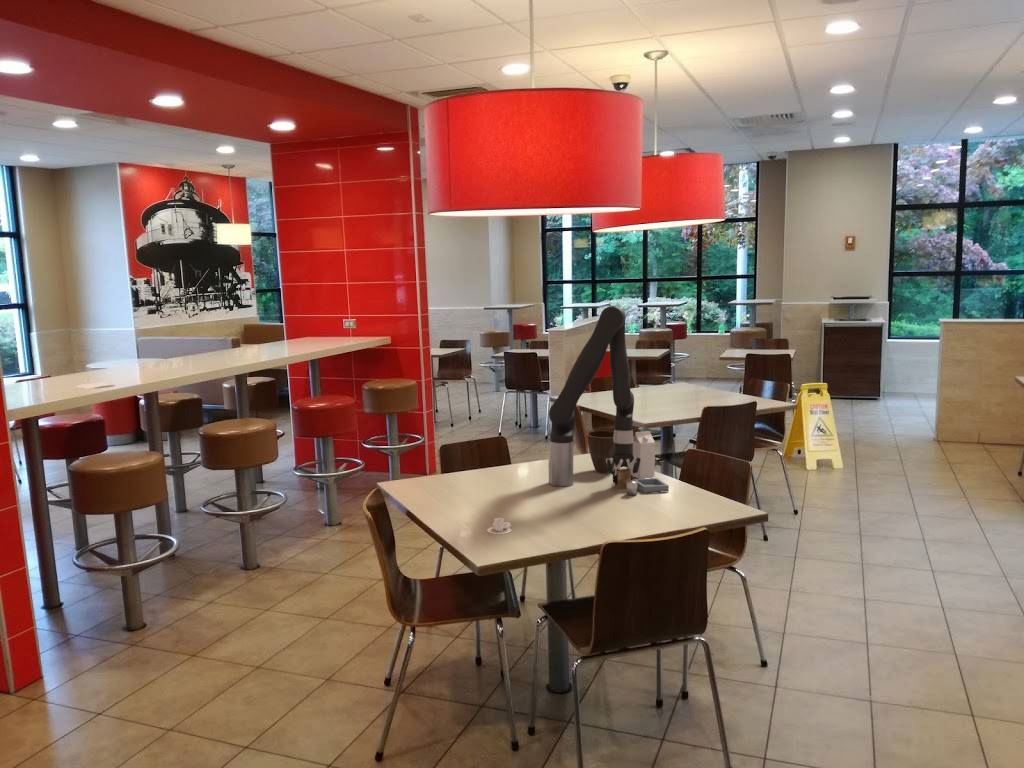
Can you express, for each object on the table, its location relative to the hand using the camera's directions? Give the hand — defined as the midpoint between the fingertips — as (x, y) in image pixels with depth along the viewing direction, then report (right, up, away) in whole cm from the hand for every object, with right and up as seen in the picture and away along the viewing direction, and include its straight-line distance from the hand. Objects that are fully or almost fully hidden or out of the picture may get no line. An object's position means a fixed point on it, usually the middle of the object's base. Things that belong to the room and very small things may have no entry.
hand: (622, 483), depth 321 cm
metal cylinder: (+2, -3, -11) cm, 11 cm away
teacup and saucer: (-44, -9, -55) cm, 71 cm away
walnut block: (0, -2, 0) cm, 1 cm away
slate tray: (+11, -2, -2) cm, 11 cm away
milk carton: (+10, 0, +16) cm, 19 cm away
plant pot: (-4, +2, +28) cm, 28 cm away
